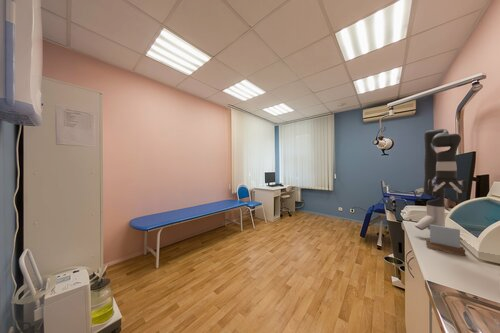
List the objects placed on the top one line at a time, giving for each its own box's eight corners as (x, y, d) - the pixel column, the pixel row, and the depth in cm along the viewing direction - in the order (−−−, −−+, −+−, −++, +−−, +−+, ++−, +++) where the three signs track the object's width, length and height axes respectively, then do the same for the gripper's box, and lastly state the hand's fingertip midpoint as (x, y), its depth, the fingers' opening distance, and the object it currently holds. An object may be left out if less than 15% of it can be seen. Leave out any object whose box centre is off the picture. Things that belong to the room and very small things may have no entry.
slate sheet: (430, 246, 99) (429, 224, 99) (459, 252, 92) (459, 229, 92) (430, 247, 98) (430, 225, 98) (460, 253, 90) (459, 229, 91)
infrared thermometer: (447, 234, 110) (433, 215, 110) (431, 245, 110) (418, 226, 110) (439, 231, 114) (426, 213, 114) (424, 242, 114) (411, 224, 115)
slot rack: (426, 244, 101) (426, 239, 101) (463, 252, 92) (463, 246, 92) (426, 247, 98) (426, 242, 98) (465, 255, 88) (465, 250, 88)
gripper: (463, 169, 92) (463, 199, 92) (426, 169, 101) (426, 196, 101) (469, 170, 86) (469, 201, 86) (429, 169, 95) (429, 198, 95)
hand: (446, 198), depth 94 cm, fingers open, 8 cm apart
